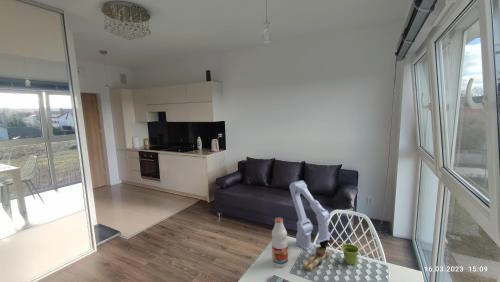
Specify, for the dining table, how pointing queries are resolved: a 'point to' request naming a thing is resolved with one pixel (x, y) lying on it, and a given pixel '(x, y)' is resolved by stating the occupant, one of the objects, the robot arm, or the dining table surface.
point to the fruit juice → (279, 244)
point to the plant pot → (350, 253)
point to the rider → (320, 251)
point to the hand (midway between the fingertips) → (323, 250)
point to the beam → (314, 261)
